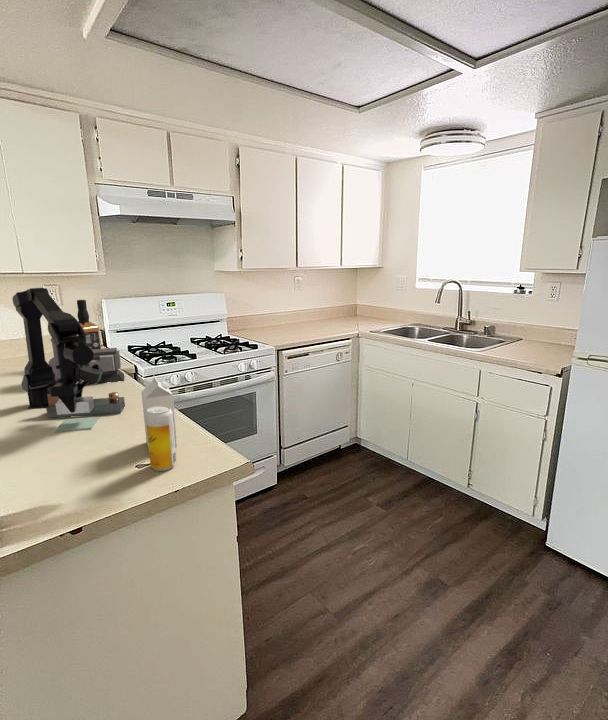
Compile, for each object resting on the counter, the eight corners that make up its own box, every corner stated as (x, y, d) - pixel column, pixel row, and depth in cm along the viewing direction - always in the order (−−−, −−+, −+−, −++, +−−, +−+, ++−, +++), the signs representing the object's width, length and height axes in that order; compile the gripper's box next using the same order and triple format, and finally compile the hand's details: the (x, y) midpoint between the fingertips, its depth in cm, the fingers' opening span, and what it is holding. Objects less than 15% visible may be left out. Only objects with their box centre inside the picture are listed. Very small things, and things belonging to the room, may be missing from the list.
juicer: (40, 391, 161) (31, 329, 155) (48, 380, 175) (39, 323, 169) (124, 382, 172) (118, 324, 166) (124, 373, 186) (119, 319, 180)
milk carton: (149, 452, 109) (143, 384, 105) (146, 442, 116) (139, 377, 111) (177, 446, 113) (171, 380, 108) (172, 437, 119) (167, 373, 114)
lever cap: (57, 414, 123) (55, 401, 122) (62, 408, 128) (60, 395, 127) (89, 412, 125) (87, 399, 124) (94, 406, 130) (92, 393, 129)
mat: (54, 432, 122) (54, 430, 122) (65, 420, 131) (64, 419, 131) (91, 429, 124) (91, 427, 124) (99, 418, 133) (98, 416, 133)
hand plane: (47, 418, 132) (44, 396, 131) (55, 411, 139) (52, 390, 137) (120, 413, 137) (118, 392, 135) (125, 406, 144) (122, 385, 142)
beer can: (154, 460, 105) (149, 405, 101) (178, 459, 105) (174, 404, 102) (147, 472, 99) (141, 414, 95) (173, 471, 99) (168, 413, 96)
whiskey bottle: (105, 367, 196) (97, 299, 188) (85, 371, 188) (76, 301, 180) (93, 364, 201) (85, 298, 194) (73, 368, 193) (63, 300, 186)
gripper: (89, 366, 115) (95, 418, 119) (105, 351, 133) (110, 397, 137) (45, 368, 113) (53, 421, 117) (67, 353, 131) (74, 400, 135)
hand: (75, 409), depth 126 cm, fingers closed on lever cap, 5 cm apart
